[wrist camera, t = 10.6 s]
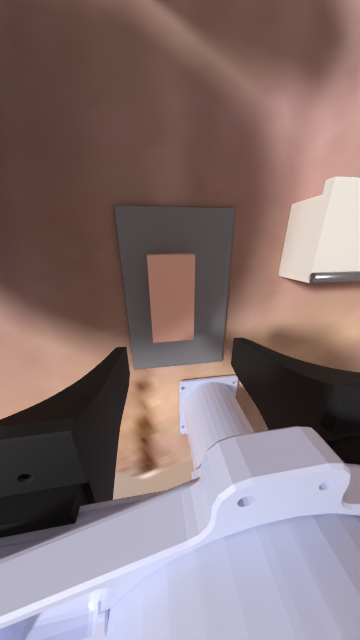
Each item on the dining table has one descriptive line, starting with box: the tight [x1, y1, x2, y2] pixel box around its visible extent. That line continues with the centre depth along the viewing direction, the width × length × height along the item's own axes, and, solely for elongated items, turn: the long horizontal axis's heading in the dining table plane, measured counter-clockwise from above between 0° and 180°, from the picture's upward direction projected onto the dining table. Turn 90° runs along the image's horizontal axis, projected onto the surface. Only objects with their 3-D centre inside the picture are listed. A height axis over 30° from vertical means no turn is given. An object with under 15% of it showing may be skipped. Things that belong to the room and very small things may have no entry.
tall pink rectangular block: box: [147, 253, 195, 343], centre depth 18 cm, size 8×4×3 cm, turn 1°
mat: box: [114, 206, 235, 370], centre depth 20 cm, size 17×11×1 cm, turn 0°
